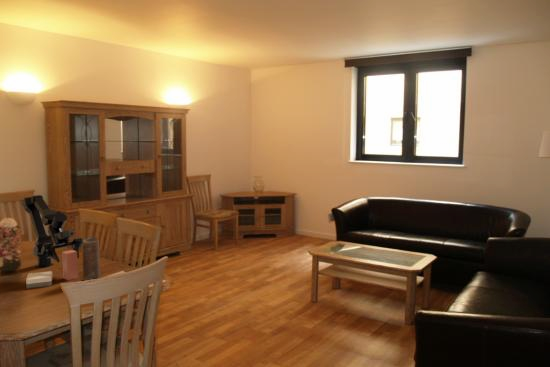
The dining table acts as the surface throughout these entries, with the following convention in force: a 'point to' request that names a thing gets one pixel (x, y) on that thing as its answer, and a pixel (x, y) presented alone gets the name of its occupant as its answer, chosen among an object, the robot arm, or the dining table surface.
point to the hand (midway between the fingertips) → (68, 259)
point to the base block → (39, 279)
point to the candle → (91, 258)
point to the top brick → (70, 264)
